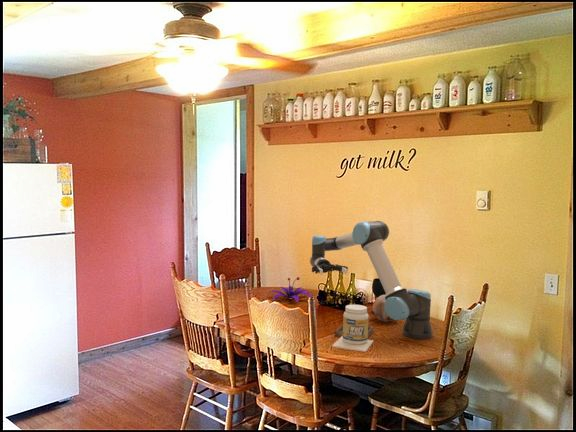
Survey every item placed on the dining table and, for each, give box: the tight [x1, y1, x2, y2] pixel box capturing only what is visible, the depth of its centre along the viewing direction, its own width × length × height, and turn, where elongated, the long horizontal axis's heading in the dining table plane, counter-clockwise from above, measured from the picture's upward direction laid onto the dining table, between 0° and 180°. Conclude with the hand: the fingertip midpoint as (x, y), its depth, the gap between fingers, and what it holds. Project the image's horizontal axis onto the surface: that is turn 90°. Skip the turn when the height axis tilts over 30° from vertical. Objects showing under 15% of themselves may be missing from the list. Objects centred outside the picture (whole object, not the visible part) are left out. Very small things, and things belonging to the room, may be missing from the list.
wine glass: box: [370, 277, 386, 315], centre depth 309 cm, size 10×10×20 cm
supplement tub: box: [342, 304, 370, 345], centre depth 251 cm, size 12×12×17 cm
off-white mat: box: [331, 336, 374, 353], centre depth 249 cm, size 16×16×1 cm
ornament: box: [372, 295, 395, 323], centre depth 291 cm, size 15×15×15 cm
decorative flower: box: [267, 276, 313, 303], centre depth 337 cm, size 28×31×15 cm
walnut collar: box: [334, 323, 374, 338], centre depth 266 cm, size 16×16×2 cm
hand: (334, 272), depth 274 cm, fingers open, 13 cm apart
